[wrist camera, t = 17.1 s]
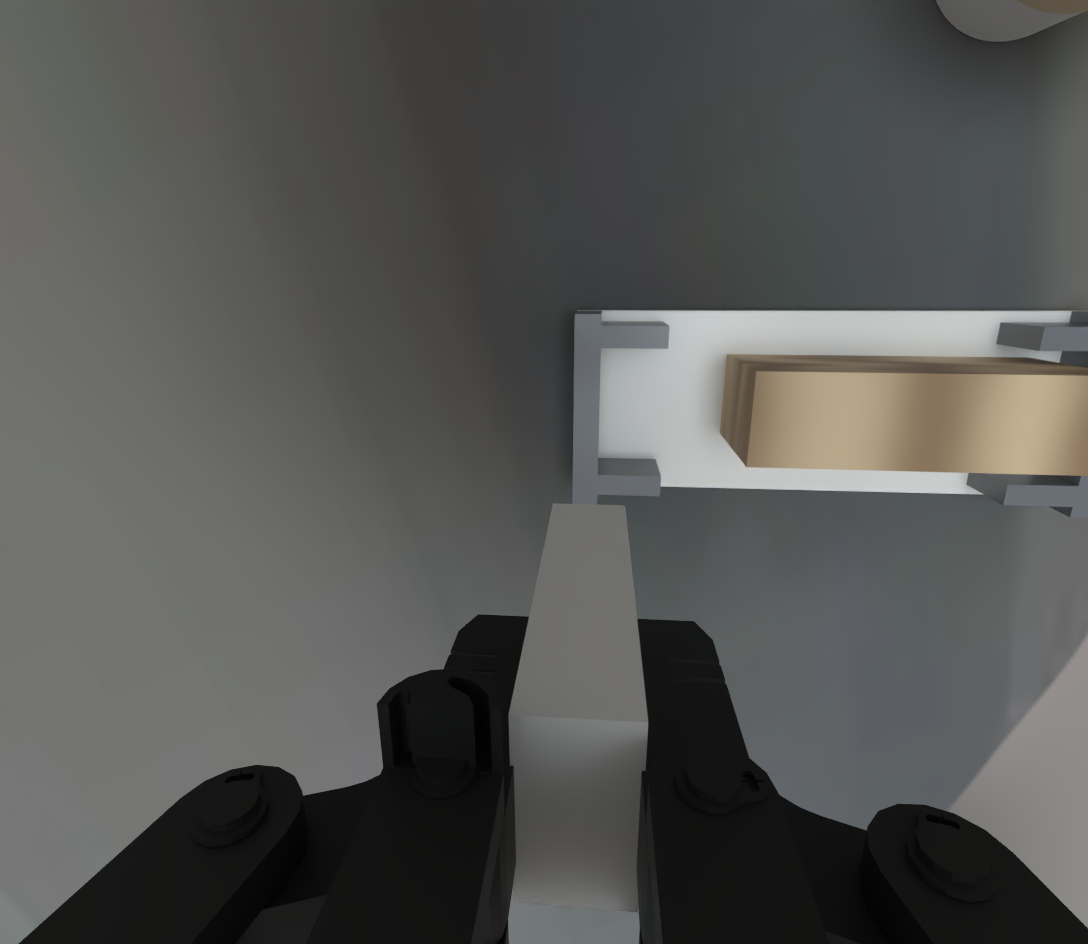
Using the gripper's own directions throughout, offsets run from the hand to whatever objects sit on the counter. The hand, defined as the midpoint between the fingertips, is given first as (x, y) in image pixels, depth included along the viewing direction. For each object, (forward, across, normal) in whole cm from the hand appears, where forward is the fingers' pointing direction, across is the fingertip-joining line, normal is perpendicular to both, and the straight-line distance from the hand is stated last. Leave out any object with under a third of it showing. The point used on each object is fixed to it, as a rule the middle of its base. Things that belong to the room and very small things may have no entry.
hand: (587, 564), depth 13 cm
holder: (+20, +11, 0) cm, 23 cm away
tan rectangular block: (+19, +13, 0) cm, 24 cm away
